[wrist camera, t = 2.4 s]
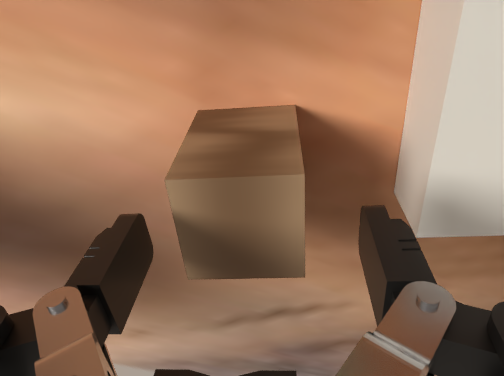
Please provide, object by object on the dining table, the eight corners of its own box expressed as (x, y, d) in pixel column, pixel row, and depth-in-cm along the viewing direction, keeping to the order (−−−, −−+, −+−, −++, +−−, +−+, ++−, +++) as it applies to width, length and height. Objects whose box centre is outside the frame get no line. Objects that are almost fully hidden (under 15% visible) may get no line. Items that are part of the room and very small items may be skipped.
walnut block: (211, 191, 22) (187, 279, 16) (198, 110, 19) (164, 180, 13) (296, 188, 22) (305, 277, 16) (295, 104, 19) (304, 174, 13)
